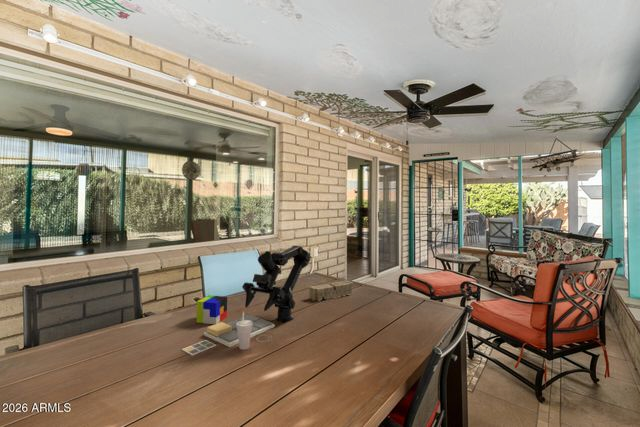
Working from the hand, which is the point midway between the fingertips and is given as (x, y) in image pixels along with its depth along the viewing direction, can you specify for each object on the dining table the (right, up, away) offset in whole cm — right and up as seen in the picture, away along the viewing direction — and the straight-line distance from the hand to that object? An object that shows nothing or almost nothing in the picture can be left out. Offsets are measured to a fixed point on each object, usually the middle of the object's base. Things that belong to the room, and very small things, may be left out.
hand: (255, 308), depth 122 cm
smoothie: (-3, -13, -6) cm, 15 cm away
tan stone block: (+34, -13, +62) cm, 72 cm away
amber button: (-16, -11, +5) cm, 20 cm away
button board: (-8, -13, +9) cm, 17 cm away
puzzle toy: (-25, -12, +21) cm, 35 cm away
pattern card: (-20, -13, -7) cm, 25 cm away
